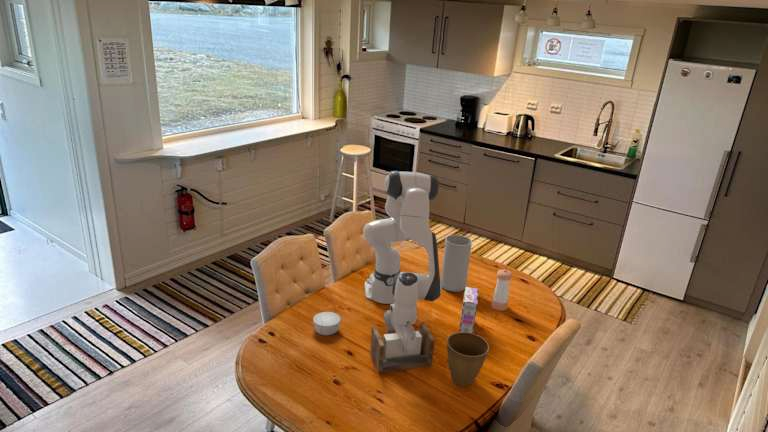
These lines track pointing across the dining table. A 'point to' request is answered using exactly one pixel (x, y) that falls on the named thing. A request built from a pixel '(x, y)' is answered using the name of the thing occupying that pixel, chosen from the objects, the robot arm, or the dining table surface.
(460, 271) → the cylinder vase
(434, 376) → the dining table surface
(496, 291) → the salt shaker
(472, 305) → the candy box
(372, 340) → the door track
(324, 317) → the ramekin
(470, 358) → the plant pot
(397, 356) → the door panel
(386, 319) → the lightbulb
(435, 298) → the robot arm
